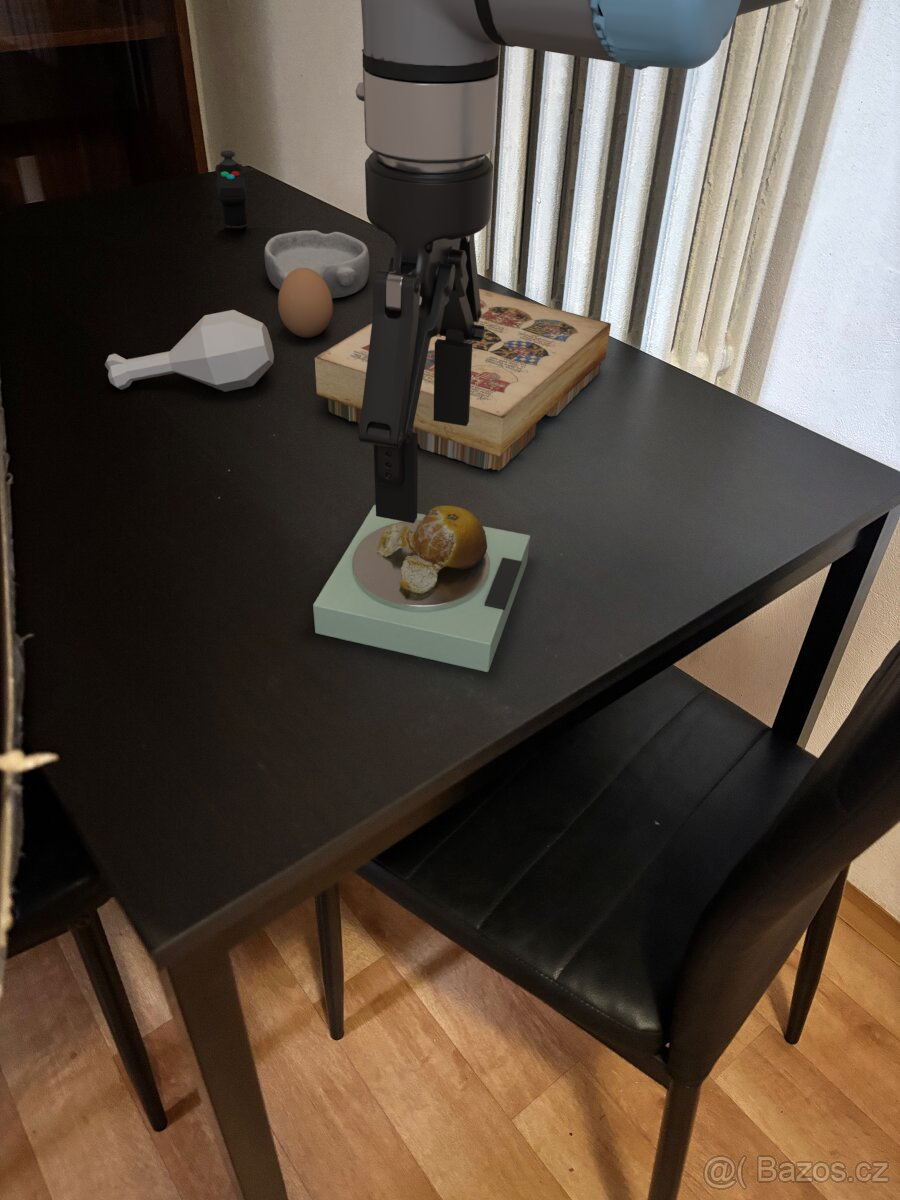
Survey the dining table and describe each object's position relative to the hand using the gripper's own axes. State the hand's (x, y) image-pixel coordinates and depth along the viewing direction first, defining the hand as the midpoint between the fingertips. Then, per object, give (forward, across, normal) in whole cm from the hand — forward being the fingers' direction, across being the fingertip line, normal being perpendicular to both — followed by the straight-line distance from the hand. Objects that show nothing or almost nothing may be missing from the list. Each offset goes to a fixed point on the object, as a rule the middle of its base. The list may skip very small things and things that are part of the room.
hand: (425, 465), depth 67 cm
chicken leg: (+12, -26, -35) cm, 45 cm away
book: (+13, -36, -7) cm, 39 cm away
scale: (+13, 0, 0) cm, 13 cm away
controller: (+12, -72, -52) cm, 90 cm away
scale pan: (+10, 0, 0) cm, 10 cm away
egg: (+12, -42, -28) cm, 52 cm away
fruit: (+9, -1, 0) cm, 9 cm away
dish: (+12, -58, -33) cm, 68 cm away
